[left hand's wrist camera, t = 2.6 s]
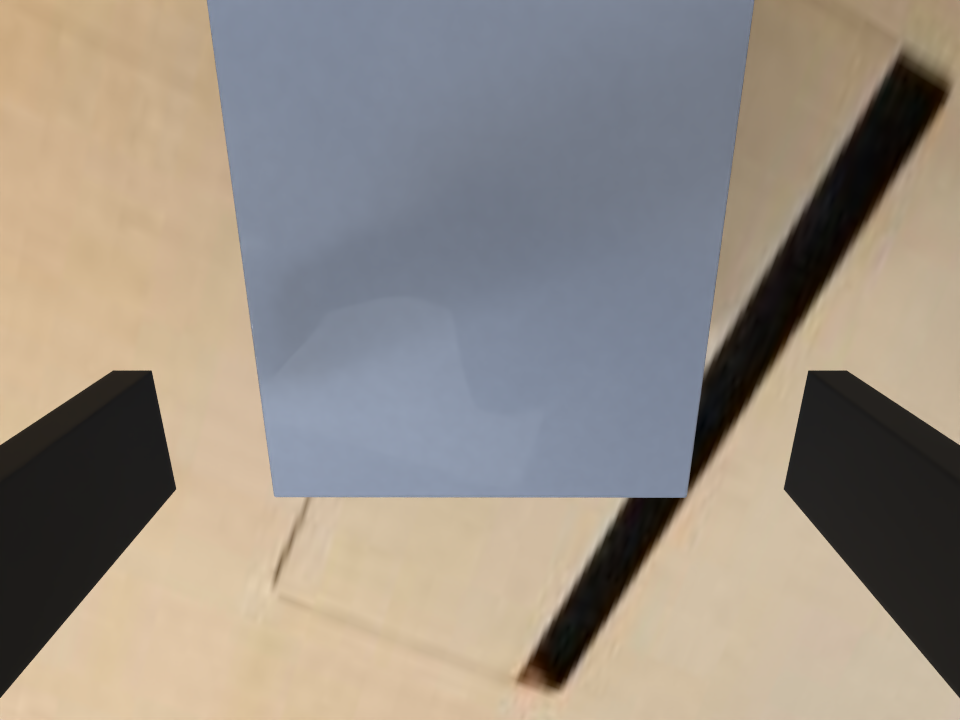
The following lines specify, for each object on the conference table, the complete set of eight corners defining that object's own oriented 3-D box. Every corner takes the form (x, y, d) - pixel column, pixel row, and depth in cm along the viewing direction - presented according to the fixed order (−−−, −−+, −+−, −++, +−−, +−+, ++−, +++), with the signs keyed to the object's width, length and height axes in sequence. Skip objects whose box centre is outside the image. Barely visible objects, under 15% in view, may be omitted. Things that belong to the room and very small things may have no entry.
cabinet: (300, -214, 19) (131, -542, 10) (661, -215, 19) (830, -543, 10) (347, 369, 26) (273, 498, 16) (613, 369, 26) (687, 498, 16)
